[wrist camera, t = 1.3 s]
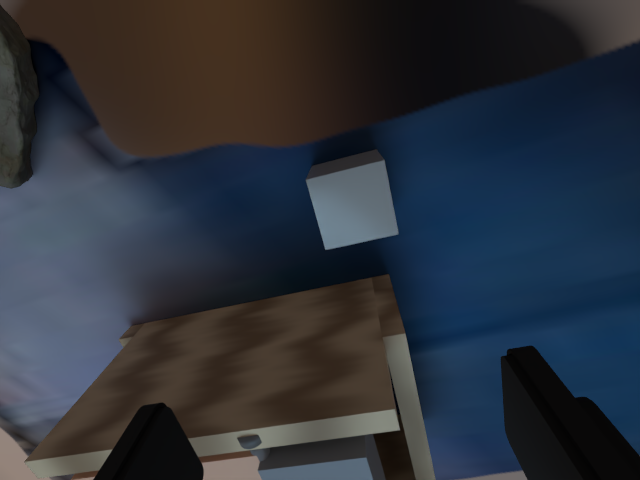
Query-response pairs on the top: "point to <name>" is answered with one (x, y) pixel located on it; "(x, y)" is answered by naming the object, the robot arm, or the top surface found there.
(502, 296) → the top surface
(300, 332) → the frame
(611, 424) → the robot arm
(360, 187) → the cube
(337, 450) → the trapdoor
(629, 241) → the top surface
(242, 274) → the top surface
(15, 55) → the marble piece
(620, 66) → the top surface
